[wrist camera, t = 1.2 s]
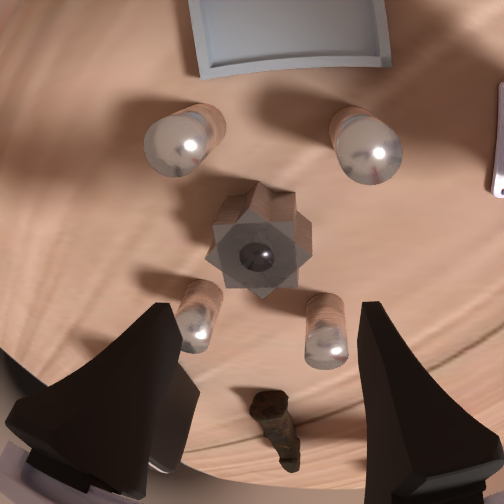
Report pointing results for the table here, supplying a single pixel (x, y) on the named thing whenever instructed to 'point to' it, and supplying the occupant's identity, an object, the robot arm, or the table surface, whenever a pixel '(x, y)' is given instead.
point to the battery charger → (173, 422)
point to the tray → (288, 35)
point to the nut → (260, 241)
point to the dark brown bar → (278, 426)
